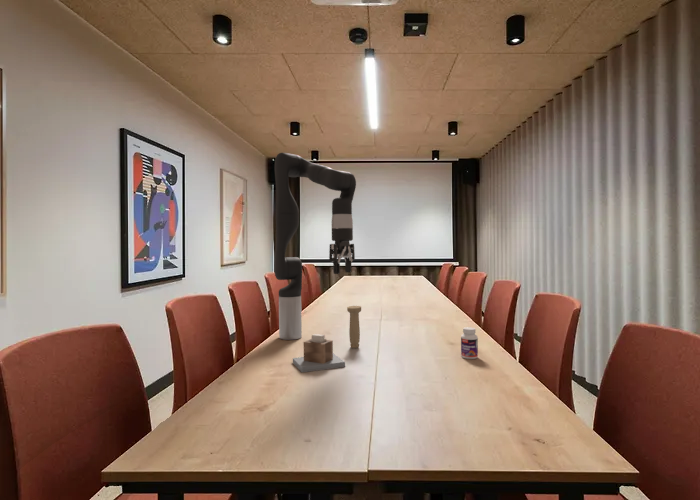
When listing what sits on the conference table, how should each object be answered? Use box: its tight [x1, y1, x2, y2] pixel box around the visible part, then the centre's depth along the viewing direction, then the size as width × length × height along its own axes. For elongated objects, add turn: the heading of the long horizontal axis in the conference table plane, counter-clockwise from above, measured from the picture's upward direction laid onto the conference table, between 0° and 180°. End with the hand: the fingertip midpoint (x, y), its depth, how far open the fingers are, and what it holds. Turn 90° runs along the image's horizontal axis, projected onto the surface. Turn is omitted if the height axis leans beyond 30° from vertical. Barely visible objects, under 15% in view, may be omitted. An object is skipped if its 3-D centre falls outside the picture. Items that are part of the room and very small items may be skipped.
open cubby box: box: [303, 338, 334, 364], centre depth 130 cm, size 7×6×6 cm
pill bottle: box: [460, 326, 479, 360], centre depth 137 cm, size 5×5×10 cm
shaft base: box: [292, 333, 346, 373], centre depth 130 cm, size 11×14×10 cm
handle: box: [346, 305, 362, 349], centre depth 152 cm, size 5×6×15 cm
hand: (342, 273), depth 145 cm, fingers open, 8 cm apart
